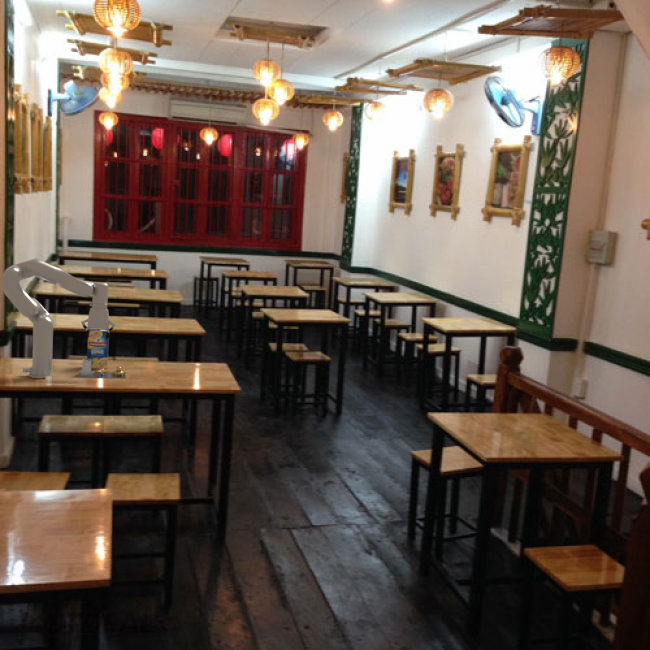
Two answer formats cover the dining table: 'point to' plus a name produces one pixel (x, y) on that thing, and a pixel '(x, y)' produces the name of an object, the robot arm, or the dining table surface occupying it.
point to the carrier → (107, 374)
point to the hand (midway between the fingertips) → (97, 338)
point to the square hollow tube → (86, 368)
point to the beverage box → (98, 348)
